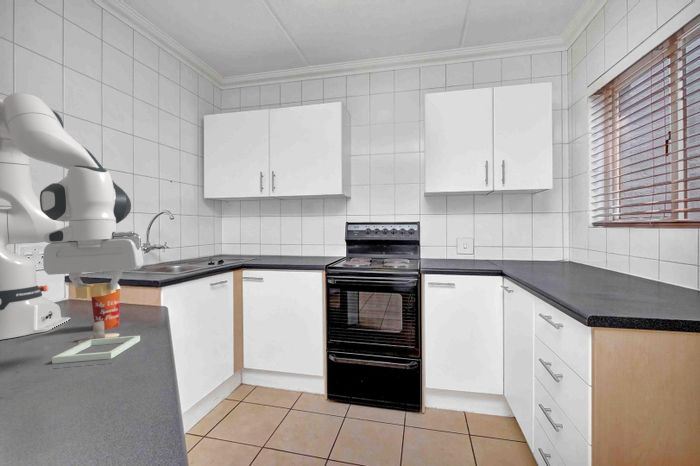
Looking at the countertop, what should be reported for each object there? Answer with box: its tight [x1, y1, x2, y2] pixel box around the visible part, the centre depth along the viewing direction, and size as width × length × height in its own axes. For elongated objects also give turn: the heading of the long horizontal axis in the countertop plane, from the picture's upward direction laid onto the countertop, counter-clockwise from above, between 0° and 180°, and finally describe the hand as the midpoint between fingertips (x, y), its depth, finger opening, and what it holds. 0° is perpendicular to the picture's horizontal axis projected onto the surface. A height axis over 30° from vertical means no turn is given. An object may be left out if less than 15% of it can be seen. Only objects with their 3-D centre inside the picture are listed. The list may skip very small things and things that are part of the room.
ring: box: [75, 282, 116, 299], centre depth 75 cm, size 7×5×2 cm
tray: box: [51, 335, 141, 370], centre depth 76 cm, size 12×12×2 cm
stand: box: [77, 321, 120, 345], centre depth 87 cm, size 9×9×6 cm
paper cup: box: [90, 284, 122, 331], centre depth 98 cm, size 8×8×14 cm
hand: (97, 290), depth 76 cm, fingers closed on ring, 5 cm apart
